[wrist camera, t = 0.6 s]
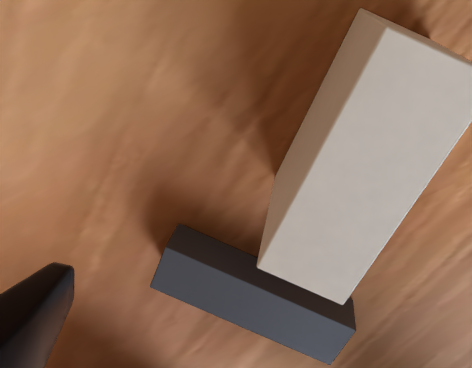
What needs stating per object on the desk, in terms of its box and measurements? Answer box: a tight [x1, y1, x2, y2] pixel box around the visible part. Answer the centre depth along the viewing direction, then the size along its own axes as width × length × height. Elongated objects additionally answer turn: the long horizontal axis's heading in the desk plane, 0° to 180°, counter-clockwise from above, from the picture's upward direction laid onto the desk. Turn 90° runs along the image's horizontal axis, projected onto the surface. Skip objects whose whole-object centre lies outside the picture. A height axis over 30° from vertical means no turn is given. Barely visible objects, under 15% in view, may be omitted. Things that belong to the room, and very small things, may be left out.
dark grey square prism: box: [150, 224, 356, 365], centre depth 25 cm, size 11×3×2 cm, turn 68°
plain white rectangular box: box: [257, 8, 472, 305], centre depth 17 cm, size 4×9×8 cm, turn 158°
